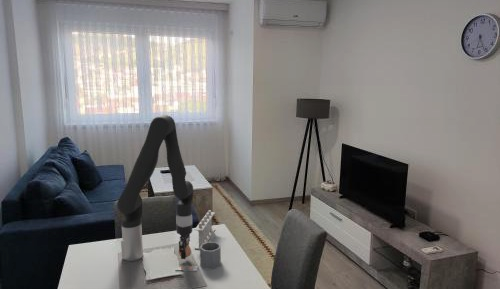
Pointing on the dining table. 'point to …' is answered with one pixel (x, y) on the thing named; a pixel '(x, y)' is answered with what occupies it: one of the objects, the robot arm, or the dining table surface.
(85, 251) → the dining table surface
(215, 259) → the tube
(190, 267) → the card
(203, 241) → the test tube rack
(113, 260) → the dining table surface
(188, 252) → the ball
